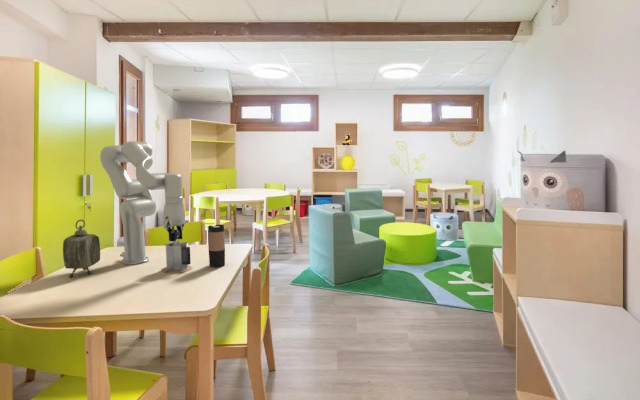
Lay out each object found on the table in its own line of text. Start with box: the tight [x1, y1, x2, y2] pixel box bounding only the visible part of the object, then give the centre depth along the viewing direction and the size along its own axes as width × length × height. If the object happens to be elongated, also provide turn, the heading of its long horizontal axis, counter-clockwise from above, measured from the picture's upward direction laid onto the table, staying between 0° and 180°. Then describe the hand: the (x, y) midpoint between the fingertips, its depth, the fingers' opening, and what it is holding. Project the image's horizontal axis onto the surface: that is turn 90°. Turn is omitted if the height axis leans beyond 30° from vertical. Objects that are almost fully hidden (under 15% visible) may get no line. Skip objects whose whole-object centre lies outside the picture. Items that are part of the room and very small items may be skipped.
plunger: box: [174, 229, 180, 244], centre depth 192 cm, size 6×6×15 cm
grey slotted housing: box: [164, 240, 192, 272], centre depth 192 cm, size 12×9×13 cm
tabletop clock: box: [62, 219, 101, 278], centre depth 186 cm, size 14×9×25 cm, turn 1°
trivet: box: [160, 265, 193, 275], centre depth 193 cm, size 14×14×1 cm
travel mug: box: [207, 224, 226, 268], centre depth 198 cm, size 8×8×20 cm
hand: (175, 239), depth 192 cm, fingers closed on plunger, 4 cm apart
